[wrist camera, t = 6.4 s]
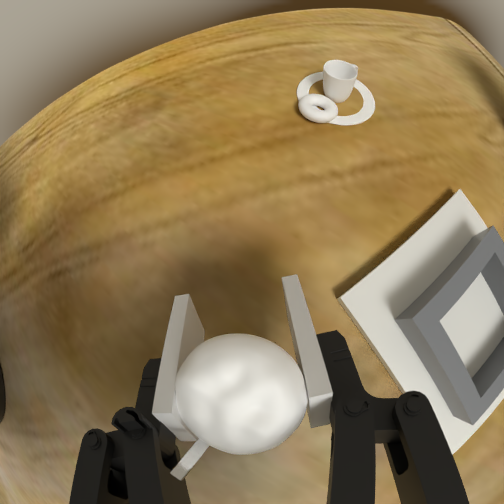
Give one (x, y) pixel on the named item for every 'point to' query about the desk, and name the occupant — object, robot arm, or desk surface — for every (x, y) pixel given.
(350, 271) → the desk surface
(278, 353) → the milkshake
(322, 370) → the robot arm
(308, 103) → the teacup and saucer
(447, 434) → the plate
